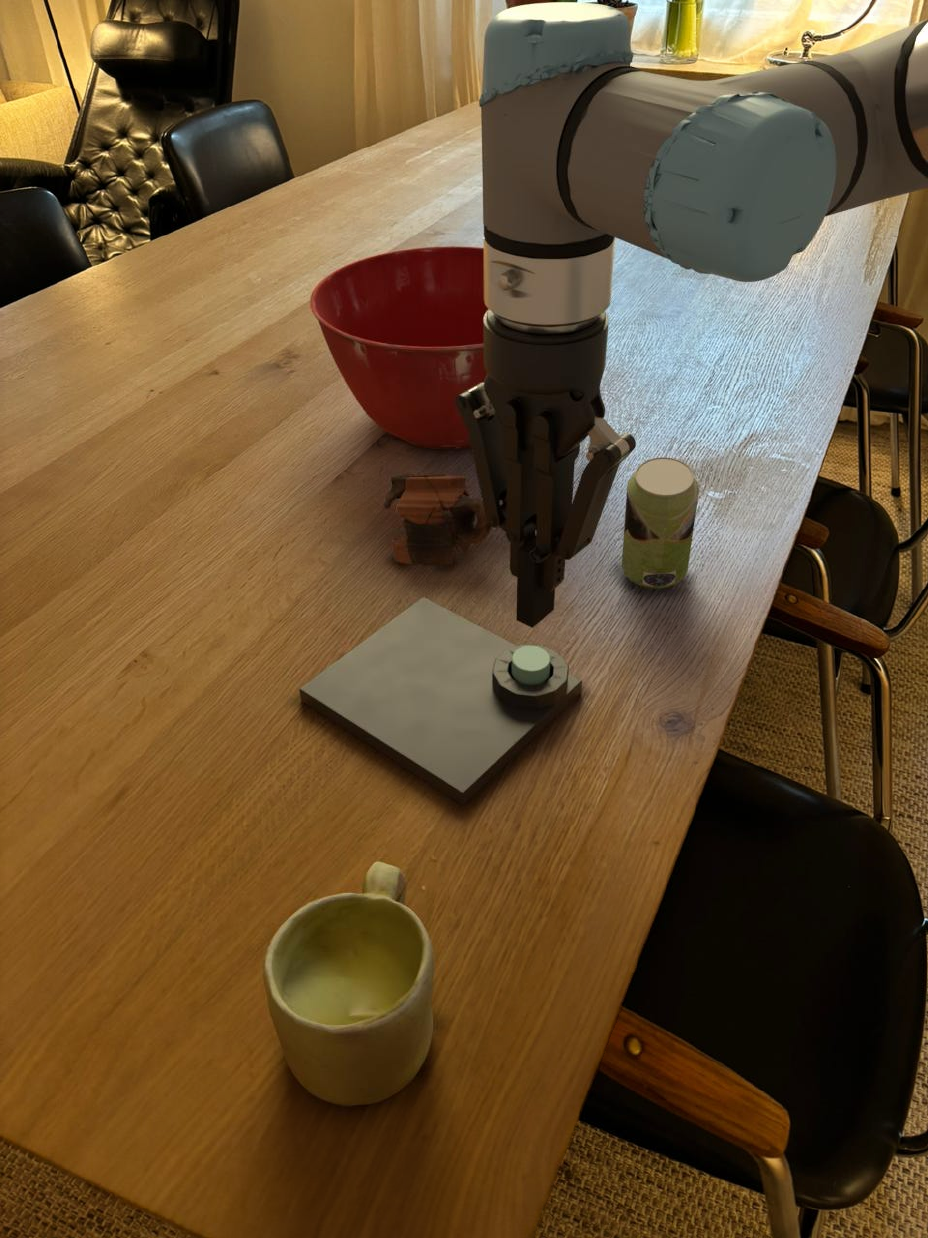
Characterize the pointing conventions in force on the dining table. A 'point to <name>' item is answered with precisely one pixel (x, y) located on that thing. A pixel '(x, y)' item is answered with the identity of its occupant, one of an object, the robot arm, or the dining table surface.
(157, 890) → the dining table surface
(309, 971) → the mug
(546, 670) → the power button
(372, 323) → the mixing bowl
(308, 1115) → the dining table surface
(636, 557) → the beverage can
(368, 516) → the dining table surface
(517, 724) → the scale
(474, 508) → the pottery mug
